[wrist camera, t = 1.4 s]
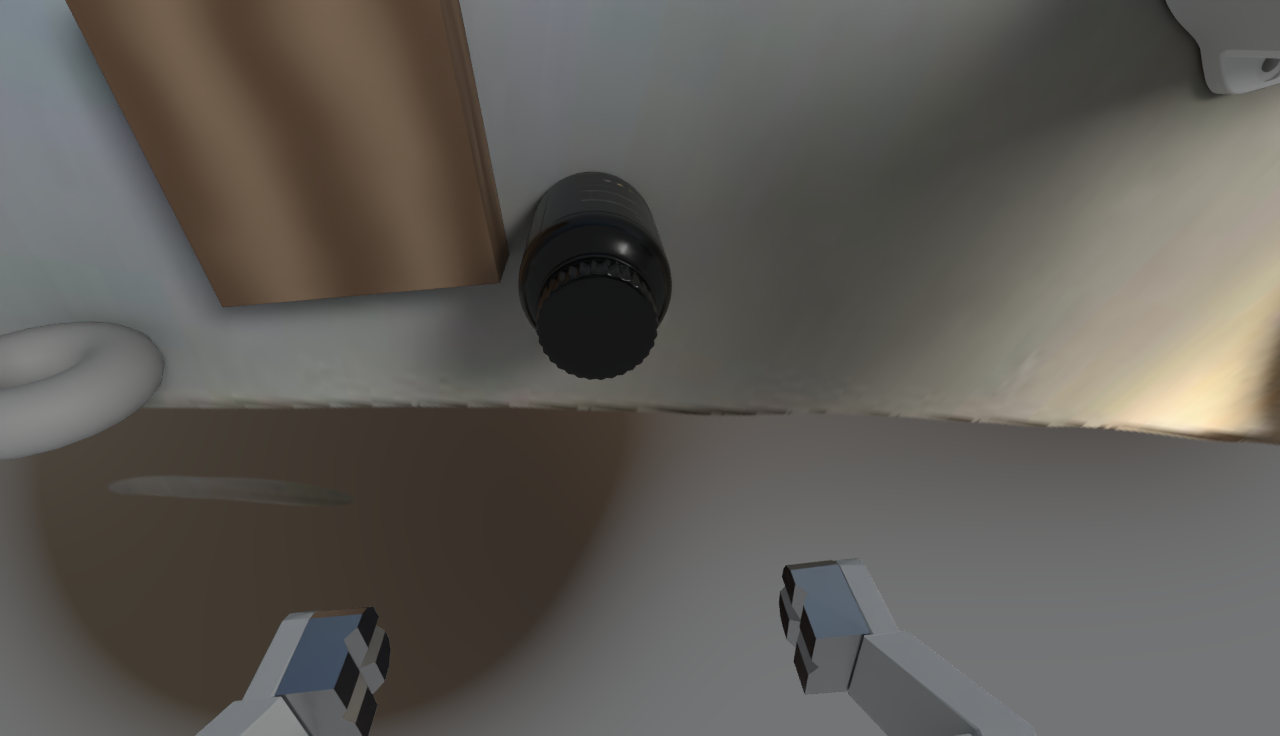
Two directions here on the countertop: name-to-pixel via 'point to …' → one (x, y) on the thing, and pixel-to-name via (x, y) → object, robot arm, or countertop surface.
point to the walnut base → (309, 140)
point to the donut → (71, 383)
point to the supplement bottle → (594, 276)
